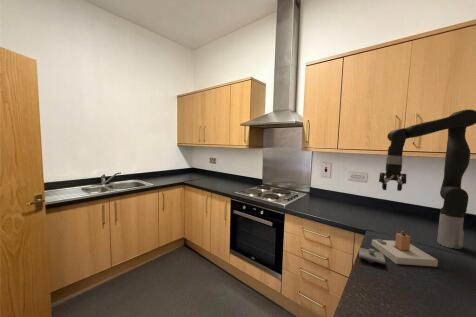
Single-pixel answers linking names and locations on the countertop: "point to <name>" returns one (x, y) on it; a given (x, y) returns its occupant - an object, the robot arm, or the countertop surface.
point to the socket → (404, 254)
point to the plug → (402, 241)
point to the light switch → (371, 255)
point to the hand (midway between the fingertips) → (391, 190)
